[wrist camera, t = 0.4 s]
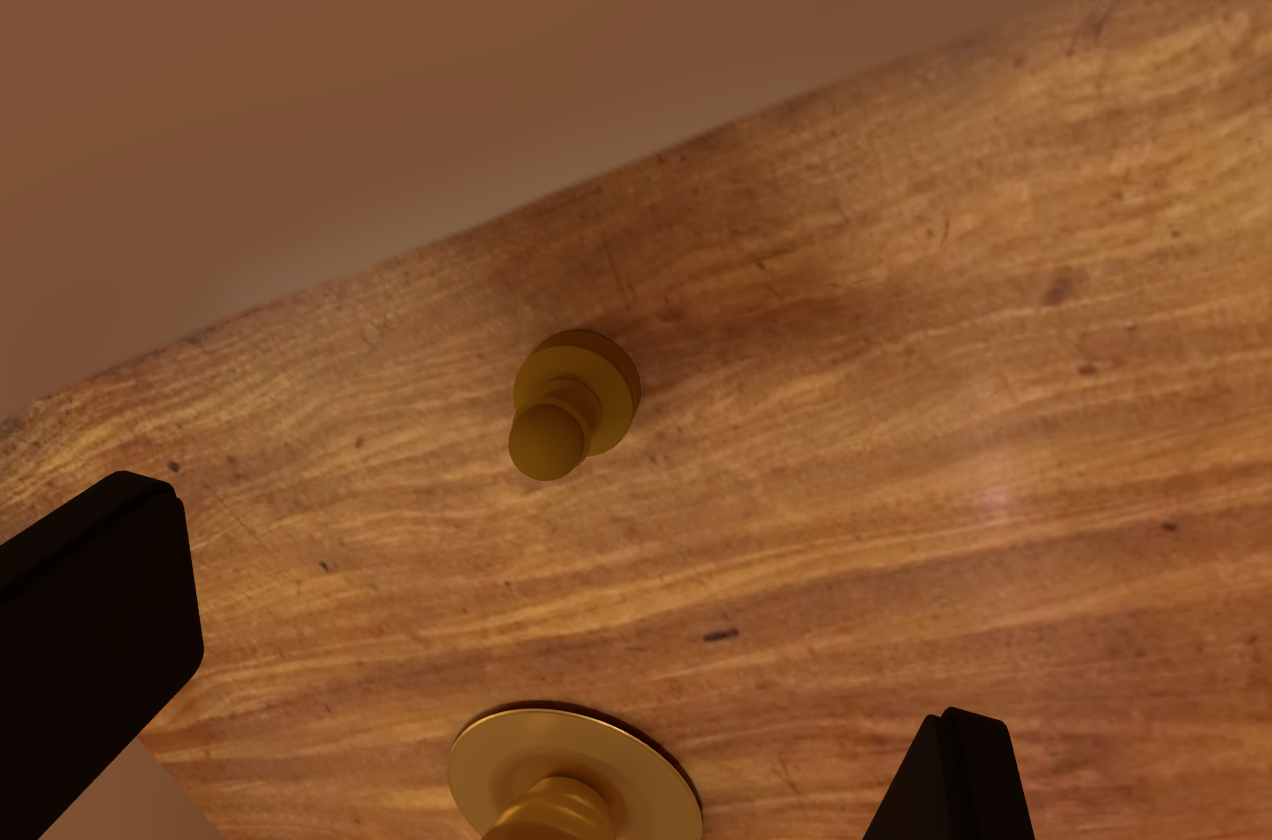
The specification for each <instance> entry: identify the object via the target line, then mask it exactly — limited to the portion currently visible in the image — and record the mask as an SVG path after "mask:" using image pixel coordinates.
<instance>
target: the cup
mask: <svg viewBox="0 0 1272 840" xmlns="http://www.w3.org/2000/svg"><path fill="white" fill-rule="evenodd" d="M447 777H448V783H449V787H450V790H451V793H452V796H453V798H454V800H455V802H456V804H457V806H458V808H459V810H460V811H461V813H462V814H463V816H464V817H465V818H466V820H467V821H468V822H469V824H470V825H471V826H472V827H473V828H474V829H475V831H476V832H477V833H478V834H479V835H480V836H481V837H482V840H701V838H702V817H701V813H700V809H699V806H698V803H697V801H696V799H695V797H694V795H693V793H692V791H691V789H690V788H689V786H688V785H687V783H686V782H685V780H684V779H683V778H682V776H681V775H680V774H679V773H678V772H677V770H676V769H675V768H674V767H673V766H672V765H671V764H670V763H669V762H668V761H667V760H666V759H664V758H663V757H662V756H661V755H660V754H659V753H657V752H656V751H655V750H653V749H652V748H651V747H649V746H648V745H646V744H645V743H643V742H642V741H640V740H639V739H637V738H635V737H634V736H632V735H630V734H628V733H626V732H624V731H623V730H620V729H618V728H616V727H614V726H612V725H609V724H607V723H604V722H602V721H599V720H596V719H593V718H590V717H587V716H583V715H579V714H575V713H570V712H565V711H559V710H551V709H517V710H510V711H505V712H501V713H497V714H494V715H491V716H488V717H486V718H483V719H481V720H479V721H477V722H476V723H474V724H473V725H471V726H470V727H468V728H467V729H466V730H465V731H464V732H463V733H462V734H461V735H460V736H459V737H458V739H457V740H456V741H455V743H454V745H453V747H452V749H451V751H450V754H449V758H448V764H447Z"/></svg>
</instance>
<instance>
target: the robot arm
mask: <svg viewBox="0 0 1272 840" xmlns="http://www.w3.org/2000/svg"><path fill="white" fill-rule="evenodd" d="M203 654H204V644H203V637H202V630H201V623H200V616H199V609H198V602H197V595H196V588H195V581H194V574H193V567H192V560H191V553H190V546H189V539H188V532H187V525H186V518H185V511H184V506H183V503H182V501H181V500H180V499H179V498H177V497H176V494H175V490H174V488H173V487H172V486H171V485H170V484H169V483H167V482H164V481H161V480H157V479H154V478H150V477H147V476H143V475H140V474H136V473H133V472H129V471H126V470H124V471H117V472H114V473H112V474H110V475H108V476H107V477H105V478H104V479H102V480H100V481H99V482H97V483H96V484H94V485H93V486H91V487H90V488H88V489H87V490H85V491H84V492H82V493H80V494H79V495H77V496H76V497H74V498H73V499H71V500H70V501H68V502H67V503H65V504H64V505H62V506H61V507H59V508H57V509H56V510H54V511H53V512H51V513H50V514H48V515H47V516H45V517H44V518H42V519H41V520H39V521H37V522H36V523H34V524H33V525H31V526H30V527H28V528H27V529H25V530H24V531H22V532H21V533H19V534H17V535H16V536H14V537H13V538H11V539H10V540H8V541H7V542H5V543H4V544H2V545H1V546H0V840H38V839H39V838H40V837H41V835H43V833H44V832H45V831H46V830H47V829H48V828H49V827H50V826H51V825H52V824H53V823H54V822H55V821H56V820H57V819H58V818H59V817H60V816H61V815H62V814H63V812H64V811H65V810H66V809H67V808H68V807H69V806H70V805H71V804H72V803H73V802H74V801H75V800H76V799H77V798H78V797H79V796H80V795H81V794H82V792H83V791H84V790H85V789H86V788H87V787H88V786H89V785H90V784H91V783H92V782H93V781H94V779H96V778H97V777H98V776H99V775H100V773H101V772H102V771H103V770H104V769H105V768H106V767H107V766H108V765H109V764H110V763H111V762H112V761H113V760H114V759H115V758H116V757H117V756H118V755H119V754H120V753H121V751H122V750H123V749H124V748H125V747H126V746H127V745H128V744H129V743H130V742H131V741H132V740H133V739H134V738H135V737H136V736H137V735H138V734H139V733H140V731H141V730H142V729H143V728H144V727H145V726H146V725H147V724H148V723H149V722H150V721H151V720H152V719H153V718H154V717H155V716H156V715H157V714H158V713H159V712H160V710H161V709H162V708H163V707H164V706H165V705H166V704H167V703H168V702H169V701H170V700H171V699H172V698H173V697H174V696H175V695H176V694H177V693H178V692H179V690H180V689H181V688H182V687H183V686H184V685H185V684H186V683H187V682H188V681H189V680H190V679H191V678H192V676H193V675H194V674H195V673H196V671H197V669H198V668H199V666H200V663H201V661H202V658H203ZM862 840H1035V837H1034V833H1033V829H1032V825H1031V821H1030V817H1029V812H1028V808H1027V804H1026V800H1025V796H1024V792H1023V788H1022V784H1021V780H1020V776H1019V771H1018V767H1017V763H1016V759H1015V755H1014V751H1013V747H1012V743H1011V739H1010V735H1009V732H1008V729H1007V726H1006V725H1005V724H1004V723H1003V721H1000V720H997V719H993V718H990V717H986V716H983V715H979V714H976V713H972V712H969V711H965V710H962V709H958V708H955V707H949V708H947V709H946V710H945V711H944V713H943V714H942V716H941V717H939V716H935V715H931V714H929V715H928V716H926V718H925V719H924V721H923V723H922V725H921V727H920V729H919V731H918V732H917V734H916V736H915V738H914V740H913V742H912V744H911V746H910V748H909V750H908V752H907V754H906V756H905V758H904V760H903V762H902V764H901V766H900V767H899V769H898V771H897V773H896V775H895V777H894V779H893V781H892V783H891V785H890V787H889V789H888V791H887V793H886V795H885V797H884V799H883V801H882V802H881V804H880V806H879V808H878V810H877V812H876V814H875V816H874V818H873V820H872V822H871V824H870V826H869V828H868V830H867V832H866V834H865V836H864V837H863V839H862Z"/></svg>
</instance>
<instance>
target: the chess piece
mask: <svg viewBox="0 0 1272 840" xmlns="http://www.w3.org/2000/svg"><path fill="white" fill-rule="evenodd" d="M640 396H641V389H640V381H639V377H638V373H637V371H636V369H635V367H634V365H633V363H632V361H631V360H630V359H629V357H628V356H627V355H626V353H625V352H624V351H623V350H622V349H620V348H619V347H618V346H617V345H616V344H614V343H613V342H611V341H610V340H608V339H607V338H604V337H602V336H600V335H597V334H594V333H590V332H585V331H569V332H563V333H560V334H557V335H555V336H552V337H550V338H549V339H547V340H546V341H544V342H543V343H542V344H541V345H540V346H539V347H538V348H537V349H536V351H535V352H534V353H533V354H532V355H531V356H530V357H529V358H528V359H527V360H526V361H525V362H524V364H523V365H522V366H521V368H520V370H519V372H518V373H517V376H516V379H515V383H514V391H513V397H514V404H515V408H516V411H517V412H516V414H515V416H514V419H513V427H512V429H511V432H510V435H509V445H508V446H509V452H510V456H511V458H512V460H513V462H514V464H515V465H516V467H517V468H518V469H519V470H520V471H521V472H522V473H523V474H525V475H527V476H528V477H530V478H533V479H536V480H541V481H550V480H556V479H559V478H561V477H563V476H565V475H567V474H568V473H569V472H571V471H572V470H573V469H574V468H575V467H576V466H577V465H579V464H580V463H581V462H582V461H584V460H585V458H586V457H589V456H595V455H599V454H602V453H605V452H606V451H608V450H610V449H612V448H613V447H615V446H616V445H617V444H618V443H619V442H620V441H621V440H622V439H623V437H624V436H625V434H626V433H627V432H628V429H629V427H630V424H631V422H632V419H633V417H634V415H635V413H636V411H637V408H638V406H639V402H640Z"/></svg>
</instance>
